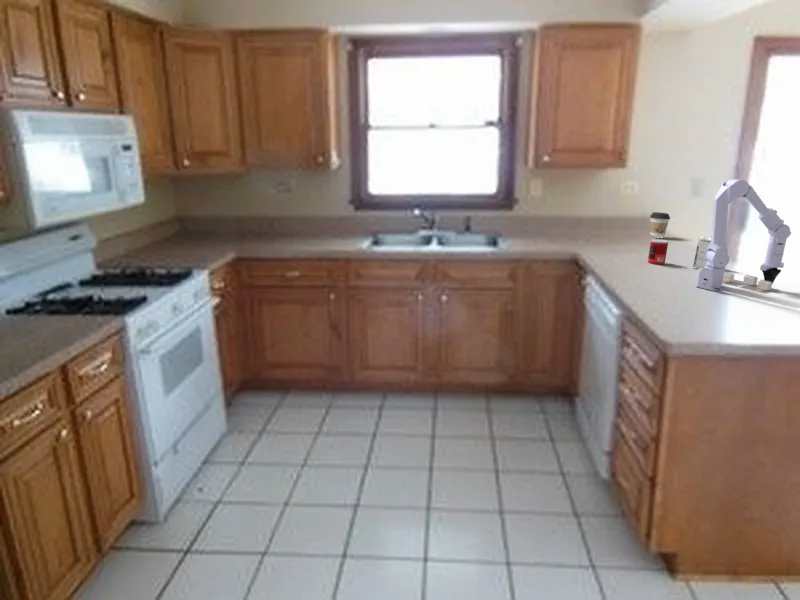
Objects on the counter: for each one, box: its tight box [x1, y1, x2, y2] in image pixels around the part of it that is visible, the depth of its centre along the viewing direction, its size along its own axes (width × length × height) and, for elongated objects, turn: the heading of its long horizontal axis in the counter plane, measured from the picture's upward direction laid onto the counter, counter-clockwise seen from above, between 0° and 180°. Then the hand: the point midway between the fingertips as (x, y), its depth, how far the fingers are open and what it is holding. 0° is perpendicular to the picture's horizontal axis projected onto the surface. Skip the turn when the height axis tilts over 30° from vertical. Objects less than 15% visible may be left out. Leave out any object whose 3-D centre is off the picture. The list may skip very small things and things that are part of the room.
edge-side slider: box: [757, 279, 774, 290], centre depth 248 cm, size 3×4×3 cm
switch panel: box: [722, 279, 780, 294], centre depth 254 cm, size 12×22×1 cm, turn 33°
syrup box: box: [692, 236, 711, 268], centre depth 287 cm, size 6×6×14 cm
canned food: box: [647, 238, 669, 266], centre depth 295 cm, size 8×8×11 cm
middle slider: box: [743, 274, 759, 285], centre depth 255 cm, size 3×4×3 cm
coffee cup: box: [649, 211, 671, 237], centre depth 367 cm, size 11×11×15 cm
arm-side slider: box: [723, 271, 735, 282], centre depth 259 cm, size 3×4×3 cm
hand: (767, 286), depth 249 cm, fingers closed
